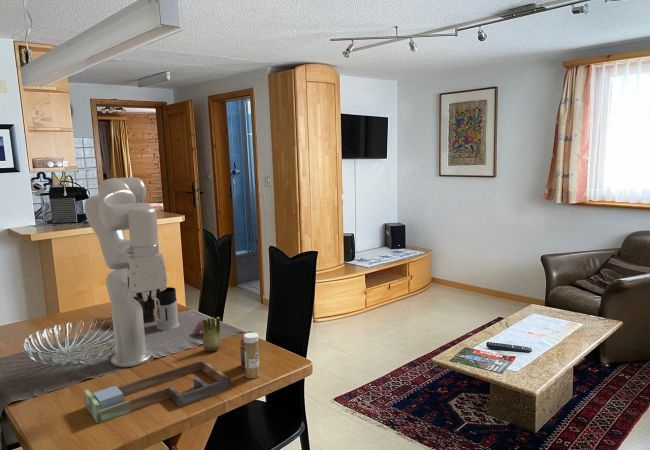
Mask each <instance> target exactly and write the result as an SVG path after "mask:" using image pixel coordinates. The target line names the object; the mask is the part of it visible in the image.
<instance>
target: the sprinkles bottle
mask: <svg viewBox="0 0 650 450" xmlns="http://www.w3.org/2000/svg"><path fill="white" fill-rule="evenodd" d="M258 341H259V334H258V333H257V332H255V333H247V334H245V335H244V349H245V350H244V353H245V369H244V370H245V377H246V378H247V379H256V378H258V377H259V376H260V374H261V372H260V350H259V351H258Z"/></svg>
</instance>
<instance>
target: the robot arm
mask: <svg viewBox="0 0 650 450" xmlns="http://www.w3.org/2000/svg"><path fill="white" fill-rule="evenodd" d="M97 192H98V194H95V195H92V196H90V197H87V199H86V200H85V202H84V214H85V216H86V219H87V222H88V224H89V226H90V227H91V229H92V230H93V232H94V234H95V235H96V236H97V238H98V243H99V245H100V246H99V247H100V249H101V253H102V256H103V257H102V258H103V260H104V262H105V265H106V267H108V268H109V269H111V270H112V271H110V272H109V273H108V274H107V276H106V279H105V285H106V289H107V294H108V297H109V301H110V308H111V317H112V329H113V338H114V341H113V342H114V349H115V354H114V355H112V357H111V358H110V359H111V360H110V362H111V364H112V366H114V367H117V368H130V367H135V366H139V365H142V364H144V363H147V361H149V360H150V359H151V358H152V353H151V351H150V350H149V349H146V347H147V345H146V336H145V323H144V320H143V311H145V312H146V313H147V314H150V313H154V311H155V309H156V307H155V306H156V303H155V302H156V301H155V302H154V299H156V296H157V295H158V293H159V292H160V291H163V290H165V289H166V288H167V287H168V286H167V285H168V275H167V270H166V265H165V264H166V263H165V260H164V256H163V253H162V252H160V248H159V247H160V246H159V234H158V232H159V231H158V216H157V210H156V208H154V207H153V206H152V205H151V204H150V203H148V202H145V200H146V196H147V188H146V184H145V183H144V181H143V180H142V179H141V178H139V177H131V176H130V177H113V178H108V179H105V180H103V181H101V182H100V184H99V186H98V189H97ZM125 231H128V233H129V234H128V236H129V239H127V237H126V233H125ZM147 294H149V295H148V297H147ZM136 296H137V297H139V298H141V299H142V306H143V309H142V306H141V305H140V303H139V302H138V301H136V300H135V299H134V298H133V297H136Z"/></svg>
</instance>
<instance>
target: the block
mask: <svg viewBox="0 0 650 450" xmlns="http://www.w3.org/2000/svg"><path fill="white" fill-rule="evenodd" d="M117 387H118V386H117V385H113V386H110V387H107V388H104V389H100V390H98V391H94V392H93V393H92V395H93V396H94V398H95V399H96V400H97V401H98V403H99V404H100V409H104V408H107V407H110V406H113V405H116V404H119V403H122V402H125V400H124V398H125V397H124V396H123V393H122V392H121V391H120V390H119V389H118V388H117Z"/></svg>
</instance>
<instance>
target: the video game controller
mask: <svg viewBox="0 0 650 450" xmlns="http://www.w3.org/2000/svg"><path fill="white" fill-rule="evenodd" d="M210 321H211V319H210ZM207 324H208V320H207ZM215 326H216V321H215ZM211 328H212V323H211ZM200 333H202V335H204V325H203V319H201V320H200V321H199V322H198V323H197V325H196V326H195V327H194V329H193V331H192V334H193V336H197V335H198V334H200Z"/></svg>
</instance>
